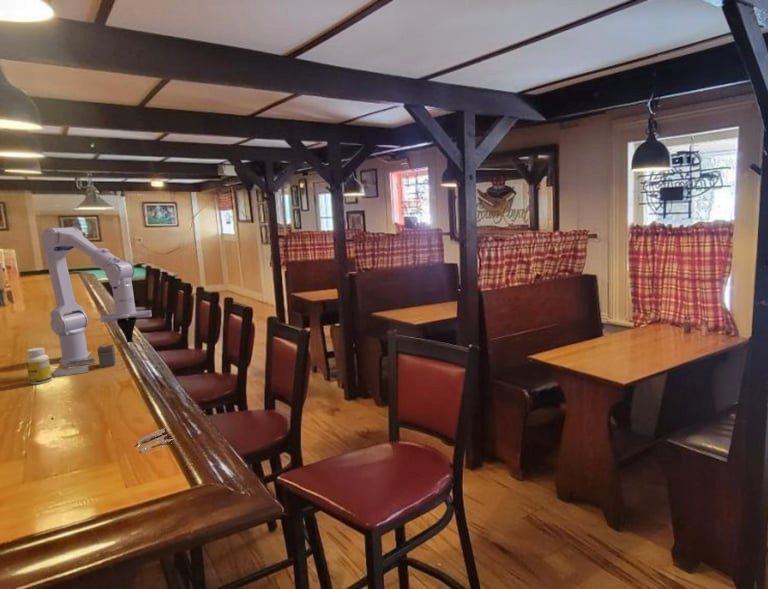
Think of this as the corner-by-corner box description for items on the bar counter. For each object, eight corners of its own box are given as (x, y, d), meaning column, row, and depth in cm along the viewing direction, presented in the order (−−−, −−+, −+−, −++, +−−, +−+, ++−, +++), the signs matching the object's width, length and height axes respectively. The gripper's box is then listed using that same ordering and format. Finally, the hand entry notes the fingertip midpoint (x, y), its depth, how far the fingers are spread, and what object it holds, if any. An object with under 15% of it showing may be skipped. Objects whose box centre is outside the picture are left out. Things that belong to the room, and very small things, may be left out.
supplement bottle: (25, 383, 147) (20, 350, 145) (45, 378, 151) (40, 346, 150) (36, 385, 144) (31, 352, 143) (56, 380, 149) (51, 347, 147)
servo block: (102, 363, 165) (99, 343, 164) (116, 361, 166) (113, 341, 165) (99, 368, 159) (96, 347, 158) (113, 366, 161) (110, 345, 160)
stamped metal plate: (167, 434, 106) (166, 427, 106) (185, 441, 102) (184, 434, 102) (129, 448, 100) (128, 441, 100) (146, 457, 96) (145, 449, 96)
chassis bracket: (63, 366, 164) (62, 359, 164) (95, 361, 167) (94, 355, 167) (54, 377, 152) (53, 370, 152) (88, 372, 155) (87, 365, 155)
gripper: (96, 304, 156) (102, 347, 158) (148, 298, 161) (153, 340, 163) (99, 301, 162) (105, 342, 164) (149, 296, 167) (155, 336, 169)
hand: (129, 341), depth 164 cm, fingers closed
